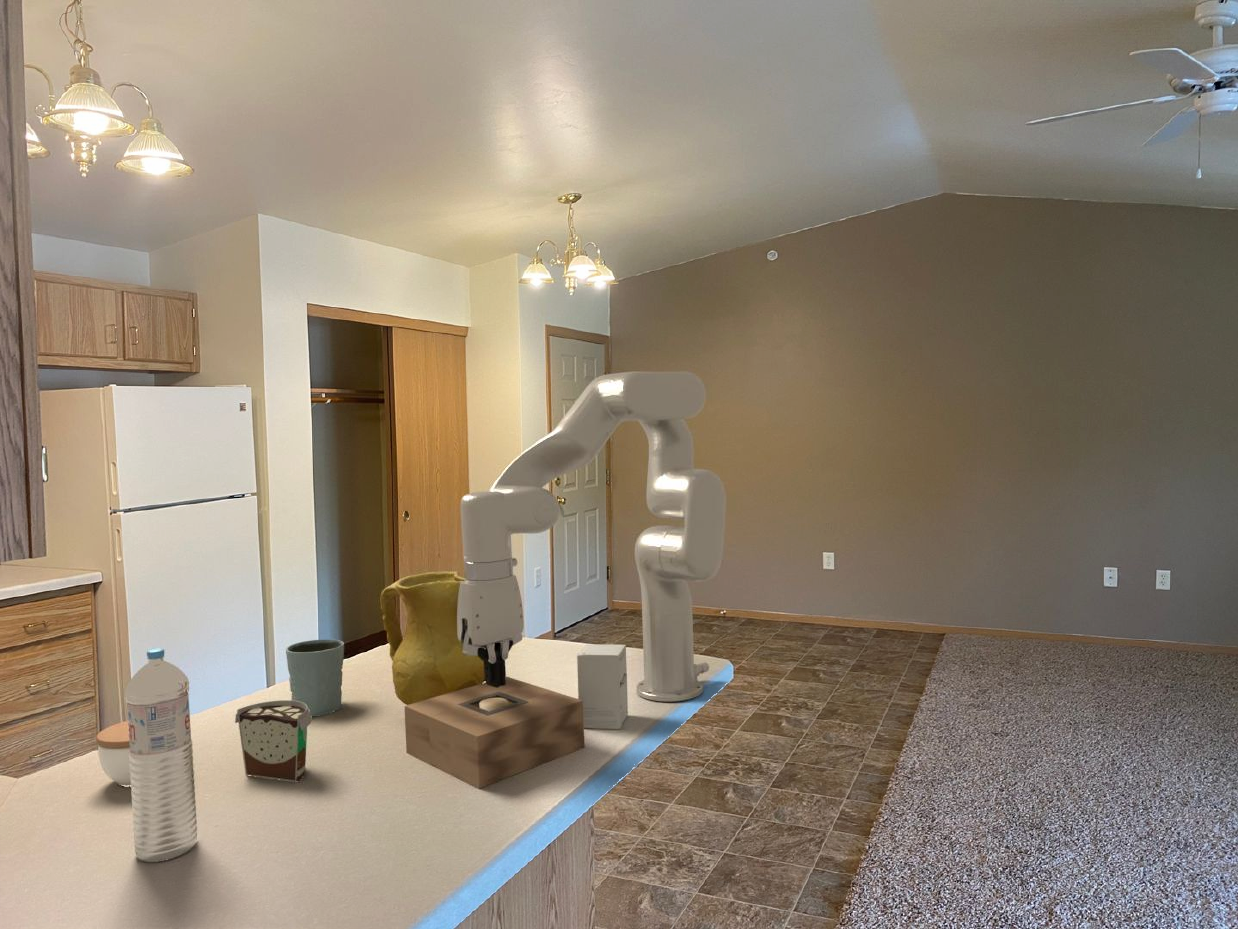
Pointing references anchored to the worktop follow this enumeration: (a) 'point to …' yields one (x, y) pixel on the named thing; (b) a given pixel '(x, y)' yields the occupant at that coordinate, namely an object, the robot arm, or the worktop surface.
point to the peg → (493, 704)
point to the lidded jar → (115, 752)
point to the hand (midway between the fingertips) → (495, 684)
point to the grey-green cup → (316, 674)
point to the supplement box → (603, 685)
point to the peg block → (493, 731)
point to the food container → (274, 739)
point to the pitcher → (428, 638)
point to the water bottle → (161, 760)
